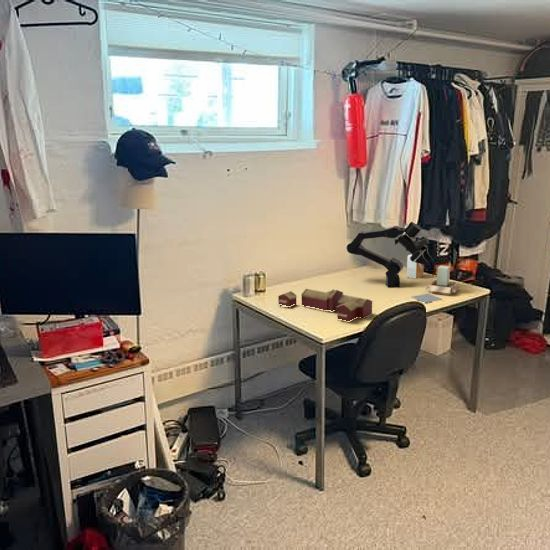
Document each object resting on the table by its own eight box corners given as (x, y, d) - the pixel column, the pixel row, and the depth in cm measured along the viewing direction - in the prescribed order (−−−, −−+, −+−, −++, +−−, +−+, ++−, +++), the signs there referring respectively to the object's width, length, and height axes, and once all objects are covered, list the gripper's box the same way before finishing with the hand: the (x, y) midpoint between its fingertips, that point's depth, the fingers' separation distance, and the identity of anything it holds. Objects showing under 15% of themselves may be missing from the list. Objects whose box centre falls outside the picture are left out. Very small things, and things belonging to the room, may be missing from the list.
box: (436, 291, 281) (437, 267, 277) (439, 289, 285) (440, 265, 281) (446, 293, 278) (447, 268, 275) (448, 290, 282) (450, 266, 279)
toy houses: (374, 313, 254) (375, 292, 251) (352, 325, 238) (352, 303, 236) (297, 297, 281) (297, 278, 279) (273, 307, 266) (272, 287, 263)
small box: (416, 279, 307) (416, 256, 304) (406, 277, 312) (407, 255, 308) (423, 276, 313) (424, 254, 309) (414, 274, 317) (414, 252, 314)
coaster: (410, 297, 274) (410, 296, 274) (427, 294, 278) (427, 293, 278) (425, 303, 264) (425, 302, 264) (442, 300, 268) (442, 299, 268)
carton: (424, 294, 279) (424, 285, 278) (432, 286, 291) (432, 278, 290) (453, 297, 272) (453, 289, 271) (460, 290, 284) (460, 281, 283)
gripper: (414, 235, 274) (438, 256, 271) (422, 229, 290) (444, 249, 287) (400, 251, 279) (423, 272, 276) (408, 244, 295) (430, 263, 293)
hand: (431, 263), depth 283 cm, fingers open, 9 cm apart
